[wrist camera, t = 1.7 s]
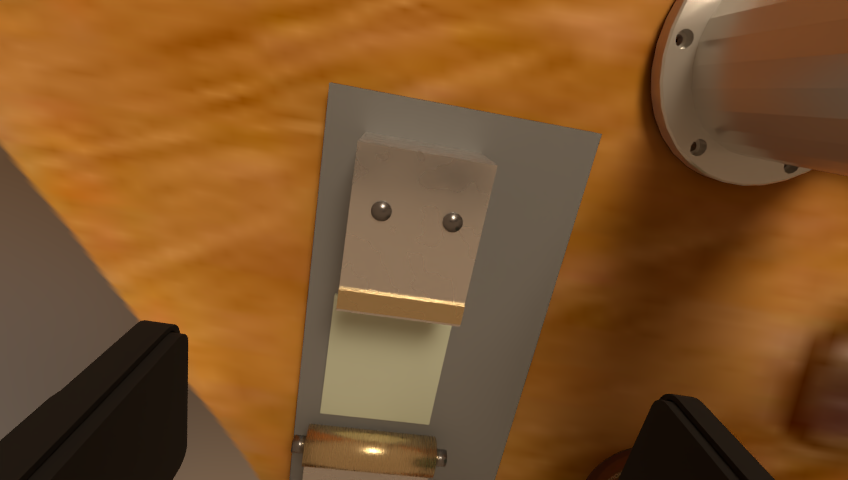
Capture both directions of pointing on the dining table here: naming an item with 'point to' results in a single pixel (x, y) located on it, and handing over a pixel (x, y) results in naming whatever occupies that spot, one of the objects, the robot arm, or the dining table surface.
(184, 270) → the dining table surface
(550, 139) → the board
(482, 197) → the tan studded block
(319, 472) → the fixed leaf
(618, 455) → the food container
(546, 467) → the dining table surface
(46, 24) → the dining table surface
